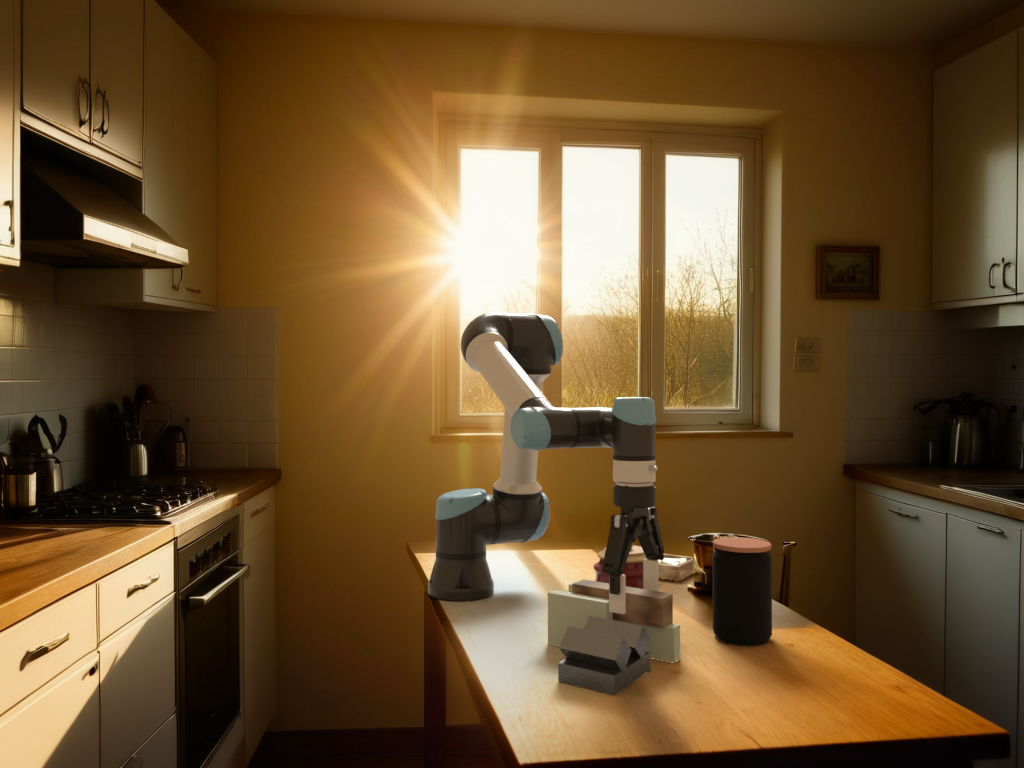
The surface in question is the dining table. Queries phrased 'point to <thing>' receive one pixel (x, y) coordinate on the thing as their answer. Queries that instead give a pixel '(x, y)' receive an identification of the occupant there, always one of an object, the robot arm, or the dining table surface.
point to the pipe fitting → (672, 561)
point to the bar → (634, 603)
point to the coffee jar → (742, 591)
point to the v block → (604, 655)
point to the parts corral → (676, 568)
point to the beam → (578, 607)
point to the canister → (631, 570)
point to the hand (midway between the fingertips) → (634, 603)
